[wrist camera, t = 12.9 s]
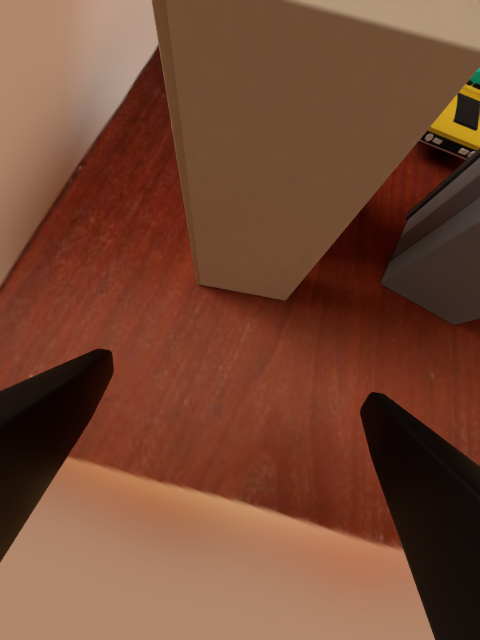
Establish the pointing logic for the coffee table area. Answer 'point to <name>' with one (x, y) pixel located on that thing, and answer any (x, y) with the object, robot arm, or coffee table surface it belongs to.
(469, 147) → the toy car
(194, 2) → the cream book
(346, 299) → the coffee table surface
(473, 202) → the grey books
